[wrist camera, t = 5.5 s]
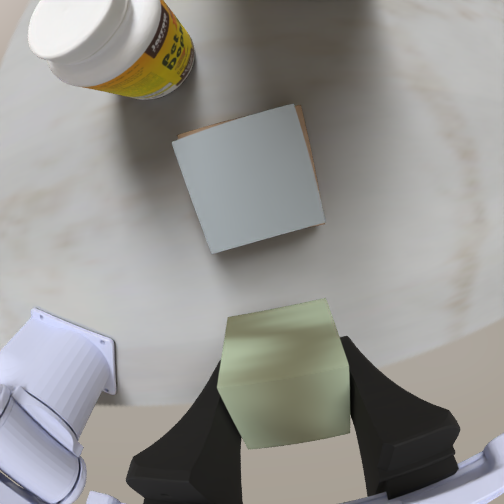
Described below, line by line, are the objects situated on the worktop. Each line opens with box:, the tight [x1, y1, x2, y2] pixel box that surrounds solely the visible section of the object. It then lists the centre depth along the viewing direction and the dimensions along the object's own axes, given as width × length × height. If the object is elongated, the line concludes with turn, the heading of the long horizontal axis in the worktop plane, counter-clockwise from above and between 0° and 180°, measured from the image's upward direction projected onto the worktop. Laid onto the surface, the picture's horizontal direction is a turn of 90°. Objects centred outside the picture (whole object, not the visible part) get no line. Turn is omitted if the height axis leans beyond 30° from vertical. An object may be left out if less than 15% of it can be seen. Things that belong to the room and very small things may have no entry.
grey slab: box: [171, 103, 326, 254], centre depth 15 cm, size 6×6×2 cm
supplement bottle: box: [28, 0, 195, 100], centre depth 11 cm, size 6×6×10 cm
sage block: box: [217, 298, 350, 449], centre depth 12 cm, size 5×5×4 cm
